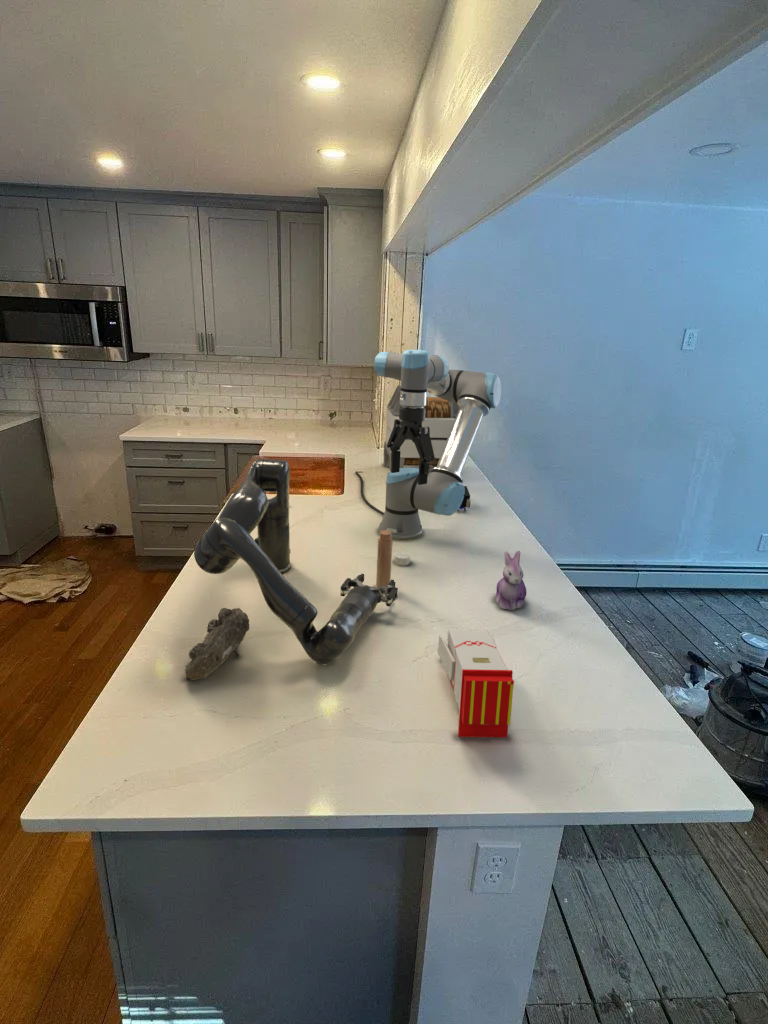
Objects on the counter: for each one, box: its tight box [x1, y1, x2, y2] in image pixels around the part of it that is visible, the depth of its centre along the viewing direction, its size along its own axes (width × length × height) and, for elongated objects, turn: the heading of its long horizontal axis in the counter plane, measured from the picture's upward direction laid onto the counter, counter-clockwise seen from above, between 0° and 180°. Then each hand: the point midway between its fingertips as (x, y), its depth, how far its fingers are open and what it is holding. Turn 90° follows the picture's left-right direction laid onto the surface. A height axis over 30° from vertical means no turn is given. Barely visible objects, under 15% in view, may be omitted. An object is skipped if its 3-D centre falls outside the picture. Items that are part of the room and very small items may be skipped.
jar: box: [375, 530, 394, 593], centre depth 158 cm, size 4×4×17 cm
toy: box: [437, 628, 515, 738], centre depth 117 cm, size 12×13×30 cm
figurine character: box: [456, 485, 472, 513], centre depth 228 cm, size 7×8×15 cm
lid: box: [394, 552, 411, 566], centre depth 177 cm, size 5×5×2 cm
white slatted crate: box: [383, 384, 459, 472], centre depth 268 cm, size 34×33×41 cm
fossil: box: [184, 607, 250, 681], centre depth 125 cm, size 22×10×15 cm
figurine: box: [495, 550, 527, 611], centre depth 153 cm, size 9×10×15 cm
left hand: (377, 579), depth 153 cm, fingers open, 8 cm apart
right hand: (408, 478), depth 169 cm, fingers open, 13 cm apart
